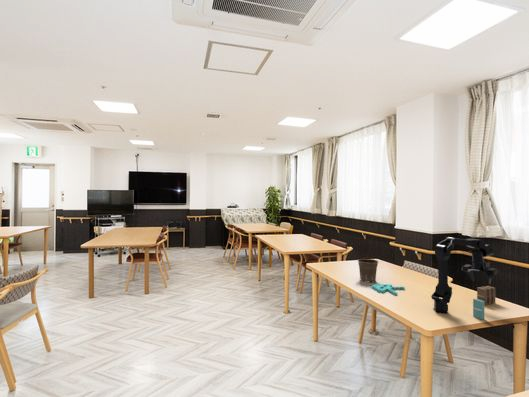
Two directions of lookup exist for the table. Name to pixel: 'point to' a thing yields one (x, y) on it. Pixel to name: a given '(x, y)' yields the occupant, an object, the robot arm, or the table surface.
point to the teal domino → (478, 308)
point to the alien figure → (386, 288)
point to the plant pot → (368, 269)
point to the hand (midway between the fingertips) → (481, 283)
